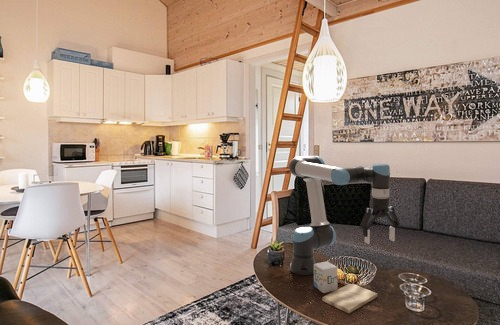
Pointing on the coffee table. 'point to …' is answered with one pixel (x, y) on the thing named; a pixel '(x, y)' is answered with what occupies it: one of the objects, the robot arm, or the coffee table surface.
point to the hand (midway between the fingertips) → (379, 241)
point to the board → (349, 297)
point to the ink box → (325, 277)
